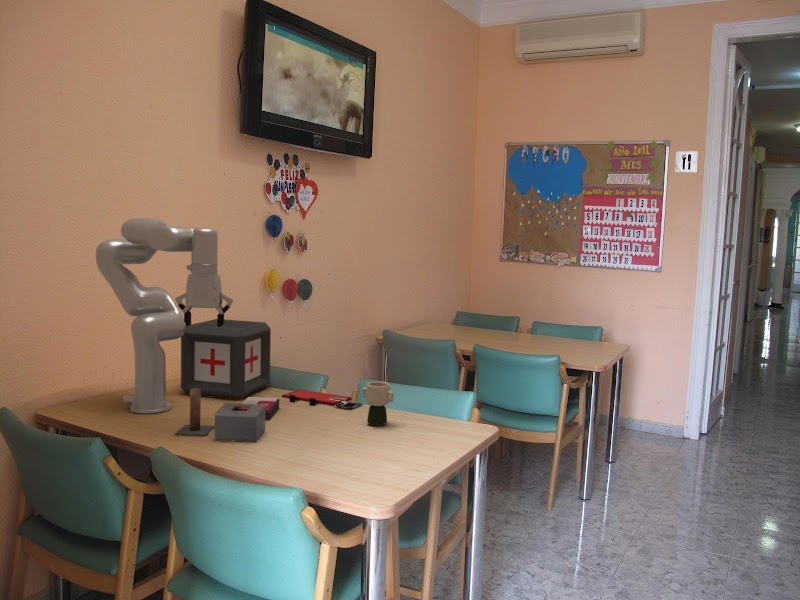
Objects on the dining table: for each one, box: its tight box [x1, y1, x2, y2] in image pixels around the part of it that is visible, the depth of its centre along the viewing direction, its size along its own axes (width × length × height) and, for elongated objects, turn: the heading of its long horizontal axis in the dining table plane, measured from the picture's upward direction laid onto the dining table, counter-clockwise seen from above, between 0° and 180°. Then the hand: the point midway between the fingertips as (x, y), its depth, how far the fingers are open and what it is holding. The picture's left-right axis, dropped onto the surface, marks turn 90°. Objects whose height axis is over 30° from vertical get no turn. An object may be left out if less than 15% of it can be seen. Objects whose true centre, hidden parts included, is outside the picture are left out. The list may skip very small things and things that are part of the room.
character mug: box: [362, 381, 394, 426], centre depth 214 cm, size 11×7×13 cm, turn 63°
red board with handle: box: [281, 389, 362, 409], centre depth 242 cm, size 30×3×15 cm
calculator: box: [241, 396, 280, 421], centre depth 223 cm, size 11×4×15 cm
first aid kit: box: [180, 318, 272, 400], centre depth 251 cm, size 25×25×25 cm
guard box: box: [214, 402, 266, 443], centre depth 198 cm, size 12×11×8 cm
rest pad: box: [174, 424, 215, 437], centre depth 201 cm, size 9×9×1 cm
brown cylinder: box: [189, 388, 202, 431], centre depth 200 cm, size 3×3×12 cm
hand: (204, 326), depth 206 cm, fingers open, 9 cm apart
